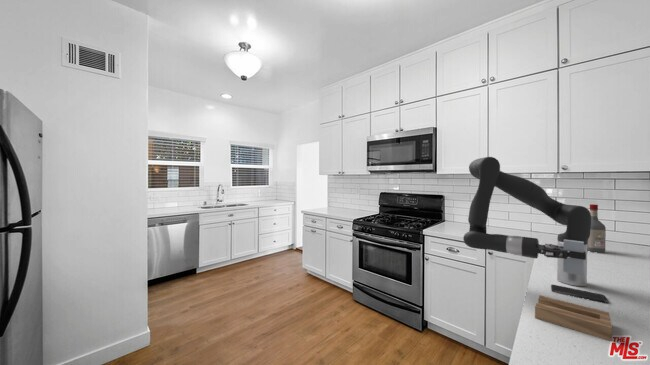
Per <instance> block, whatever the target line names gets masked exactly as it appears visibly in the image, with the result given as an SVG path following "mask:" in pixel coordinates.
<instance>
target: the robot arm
mask: <svg viewBox="0 0 650 365" xmlns="http://www.w3.org/2000/svg"><path fill="white" fill-rule="evenodd" d="M468 165H469V166H468V171H469V173H470V175H471V176H472V177H473V178H475V179H477V180H479V181H478V188H477V190H476V193H475V194H474V197H473V199H472V200H471V203H470V206H469V211H468V216H467V217H468V218H467V222H468V224H469V229H468V230H469V231H468V232H466V233H465V234H464V235H463V243H464V244H465V245H466V246H467V247H469V248H472V249H479V250H488V251H494V252H499V253H505V254H510V255H513V256H519V257H525V258H530V259H538V258H539V254H540V255H543V256H544V257H546V258H551V259H552V258H554V259H556V261H557V262H556V264H557V265H556V267H557V268H556V280H557V281H559V282H560V283H564V284H566V285H571V286H576V287H586V286H587V285H588V282H587V281H588V251H587V241H588V239H589V237H590V230H591V214H590V209H588V208H587V207H585V206H582V205H572V204H566V203H562V202H560V201H558V200H555V199H554V198H552V197H551V196H549V194H548V193H547V191H546V190H544V188H543V187H541V186H539V185H538V184H536V183H534V182H532V181H530V180H529V179H526V178H524V177H520V176H517V175H513V174H510V173H506V172H505V171H502V170H501V164H500V162H499V160H498V159H497V158H495V157H493V156H486V157H481V158H477V159H474V160H472V161H471V162H470V163H469V164H468ZM495 188H497V189H499V190H501V191H503V192H504V193H505V194H507V195H510V196H511V197H513V198H514V199H516V200H518V201H519V202H522V203H524V204H525V205H528V206H529V207H531V208H533V209H535V210H537V211H540V212H541V213H542V214H545V215H546V216H547V217H548V218H550V219H551V220H553V221H555V222H556V223H557V224H558V225H559V224H560V225H562V226H566V229H565V232H563V233H562V232H561V233H558V235H557V244H552V243H544V244H540V243H539V238H536V237H528V236H521V235H510V234H509V235H507V234H501V233H500V234H499V233H487V222H488V217H489V209H490V203H491V200H492V195H493V193H494V189H495ZM564 239H565V240H573V241H582V242H584V253H581V252H574V251H571V252H570V251H569V250H563V249H564ZM563 258H564V259H567V258H576V259H582V260H584V275H579V274H573V273H568V272H563Z"/></svg>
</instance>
